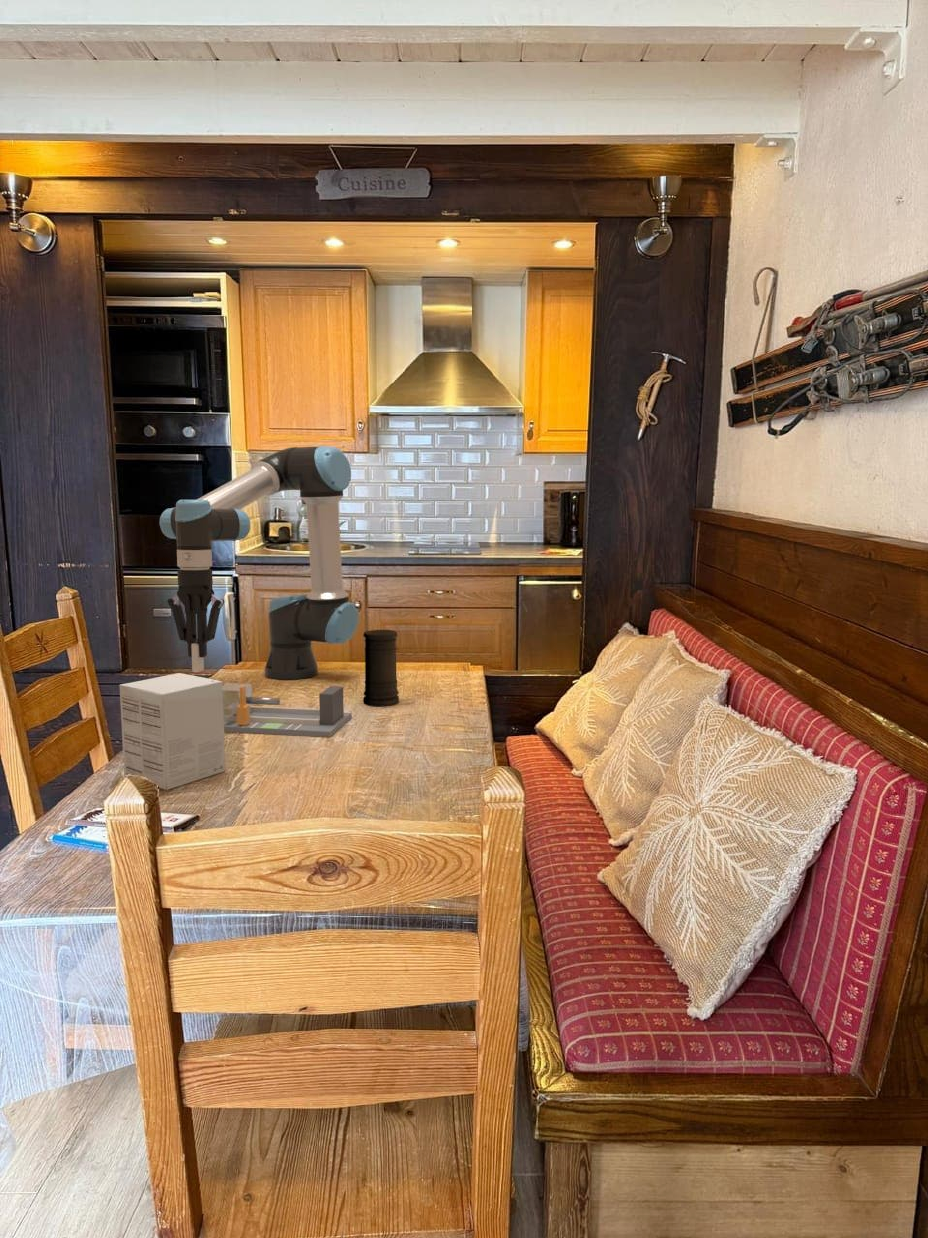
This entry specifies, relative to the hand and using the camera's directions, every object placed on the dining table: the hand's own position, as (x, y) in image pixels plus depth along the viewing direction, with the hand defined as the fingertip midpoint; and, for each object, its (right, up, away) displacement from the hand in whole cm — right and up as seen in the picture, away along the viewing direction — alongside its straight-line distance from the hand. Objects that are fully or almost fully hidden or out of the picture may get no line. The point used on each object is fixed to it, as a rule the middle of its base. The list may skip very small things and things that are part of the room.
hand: (198, 670), depth 192 cm
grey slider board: (+18, -12, -2) cm, 21 cm away
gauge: (+12, -10, -2) cm, 16 cm away
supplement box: (+7, -17, -36) cm, 41 cm away
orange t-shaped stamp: (+12, -11, -7) cm, 18 cm away
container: (+40, -9, +19) cm, 45 cm away
